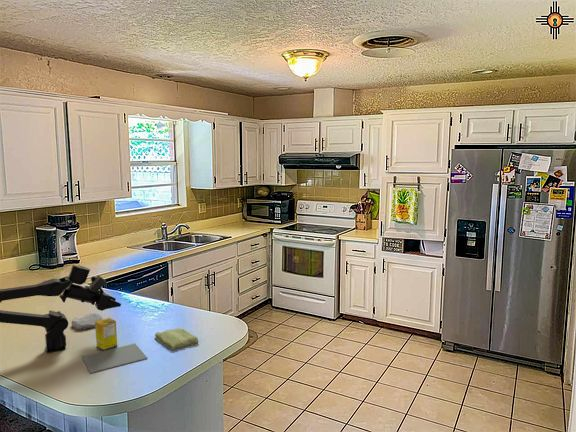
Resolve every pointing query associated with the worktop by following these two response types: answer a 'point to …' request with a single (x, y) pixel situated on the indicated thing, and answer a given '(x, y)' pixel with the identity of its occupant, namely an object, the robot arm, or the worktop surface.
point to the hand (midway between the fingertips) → (118, 302)
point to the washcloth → (176, 338)
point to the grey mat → (113, 358)
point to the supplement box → (106, 334)
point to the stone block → (86, 321)
